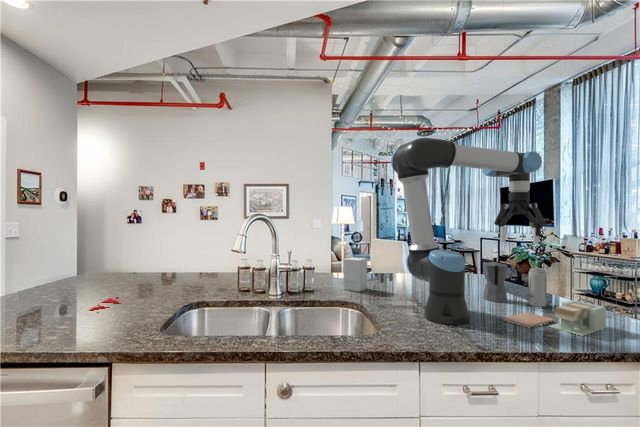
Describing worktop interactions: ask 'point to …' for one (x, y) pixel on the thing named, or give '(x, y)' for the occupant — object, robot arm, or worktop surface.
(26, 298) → the worktop surface
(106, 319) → the worktop surface
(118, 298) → the cloth
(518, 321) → the terracotta tile
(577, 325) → the pocket block
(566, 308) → the beech bar
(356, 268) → the supplement box
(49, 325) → the worktop surface
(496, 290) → the coffeepot
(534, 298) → the energy drink can
